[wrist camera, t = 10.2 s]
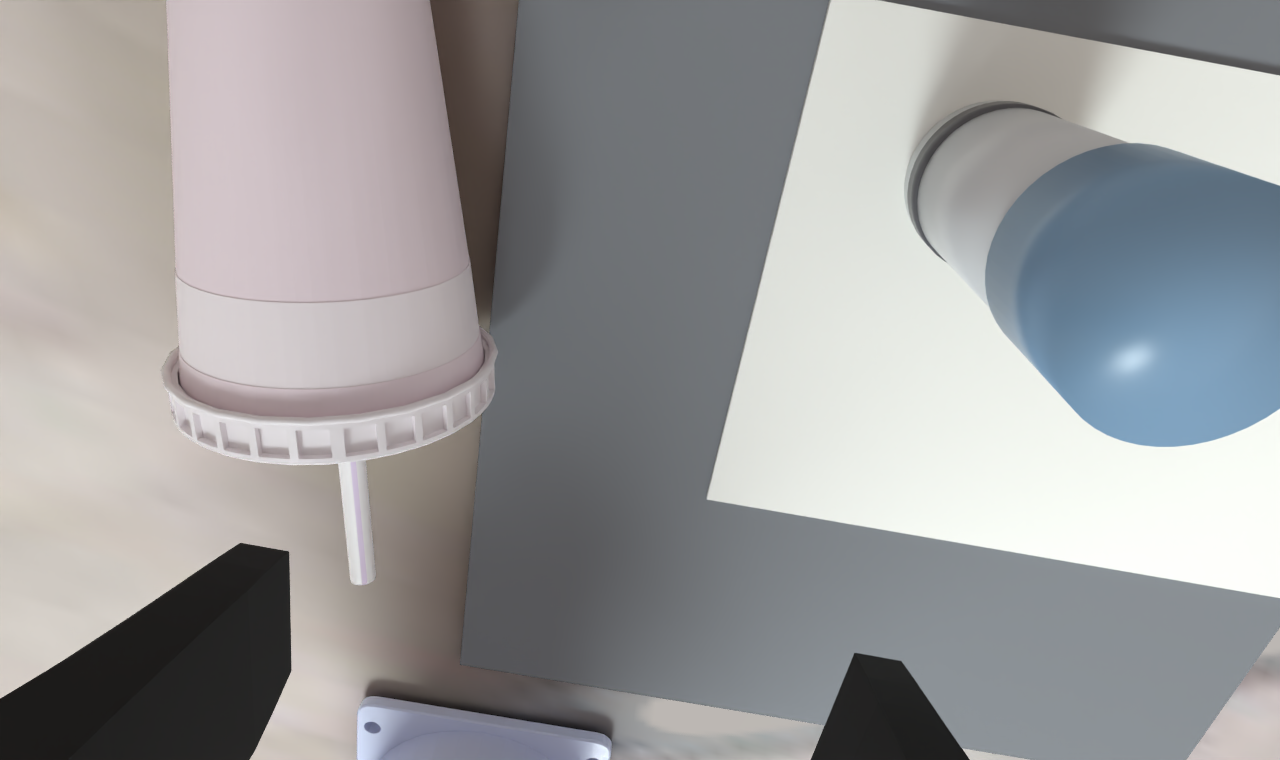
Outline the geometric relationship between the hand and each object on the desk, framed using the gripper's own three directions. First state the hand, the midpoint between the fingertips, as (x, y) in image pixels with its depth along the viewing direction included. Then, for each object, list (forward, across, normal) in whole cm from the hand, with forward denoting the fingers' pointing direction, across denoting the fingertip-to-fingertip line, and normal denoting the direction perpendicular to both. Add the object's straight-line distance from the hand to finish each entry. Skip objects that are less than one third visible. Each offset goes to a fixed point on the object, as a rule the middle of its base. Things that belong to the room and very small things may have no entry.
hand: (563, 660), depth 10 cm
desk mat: (+10, -8, 0) cm, 13 cm away
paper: (+10, -11, -2) cm, 15 cm away
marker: (+10, -7, -5) cm, 13 cm away
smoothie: (+8, +7, -9) cm, 13 cm away
